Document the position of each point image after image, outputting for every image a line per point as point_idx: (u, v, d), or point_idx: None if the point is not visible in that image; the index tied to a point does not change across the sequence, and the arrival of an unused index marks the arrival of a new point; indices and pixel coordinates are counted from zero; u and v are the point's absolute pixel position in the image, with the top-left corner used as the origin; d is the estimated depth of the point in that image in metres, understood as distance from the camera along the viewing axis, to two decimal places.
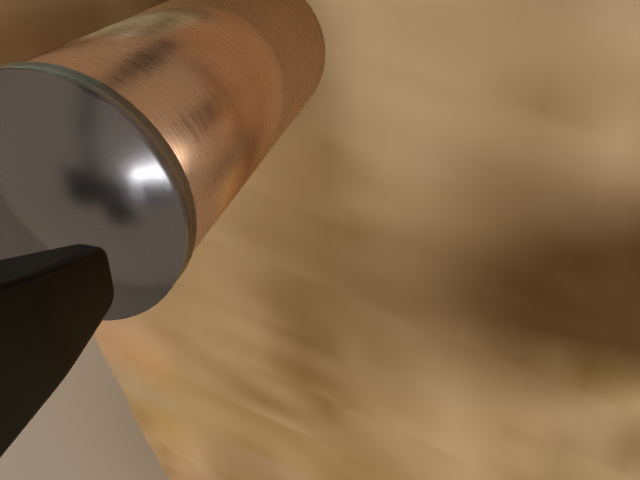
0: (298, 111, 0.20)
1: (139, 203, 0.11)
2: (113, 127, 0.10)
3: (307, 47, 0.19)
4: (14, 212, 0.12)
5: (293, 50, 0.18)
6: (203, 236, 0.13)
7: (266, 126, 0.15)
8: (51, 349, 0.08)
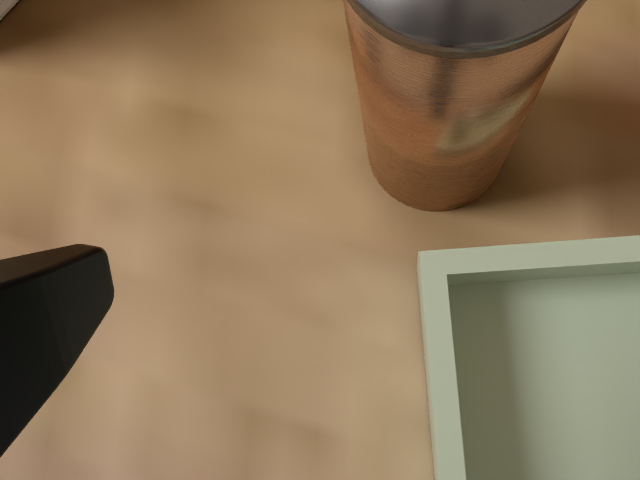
0: None
1: None
2: (376, 1, 0.11)
3: (366, 144, 0.21)
4: None
5: (366, 136, 0.20)
6: None
7: None
8: (51, 349, 0.08)
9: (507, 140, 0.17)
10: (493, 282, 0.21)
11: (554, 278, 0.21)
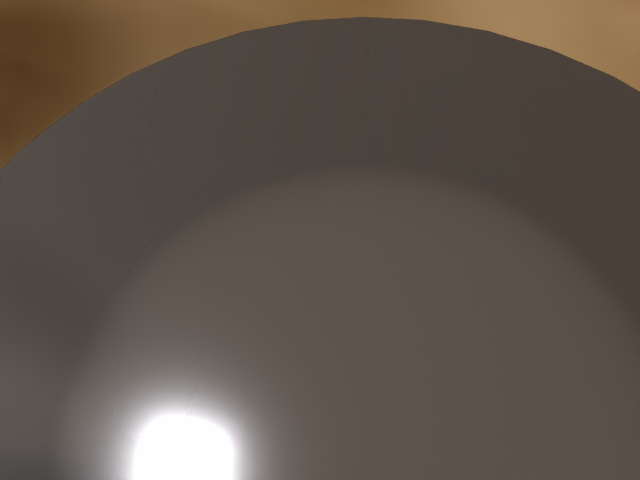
0: None
1: None
2: None
3: None
4: None
5: None
6: None
7: None
8: None
9: None
10: None
11: None
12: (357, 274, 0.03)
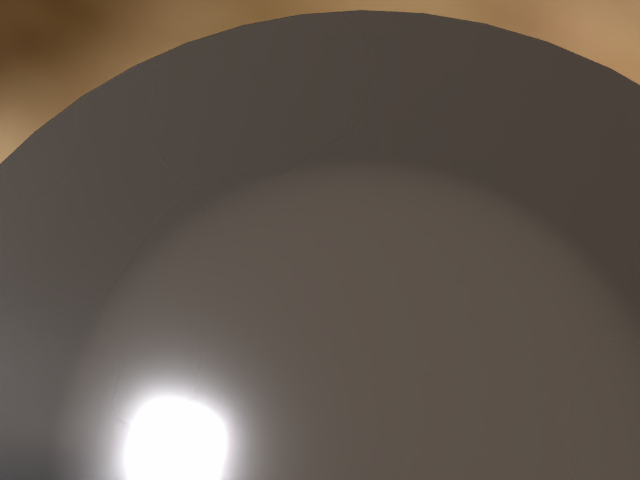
0: None
1: None
2: None
3: None
4: None
5: None
6: None
7: None
8: None
9: None
10: None
11: None
12: (356, 264, 0.03)
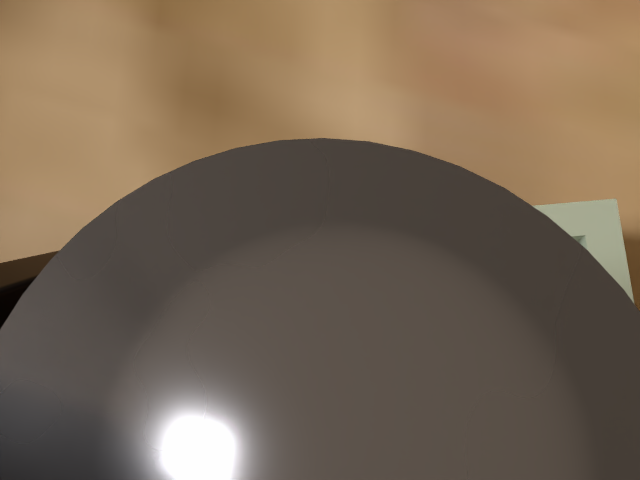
0: None
1: None
2: None
3: None
4: None
5: None
6: None
7: None
8: None
9: None
10: None
11: None
12: (317, 333, 0.04)
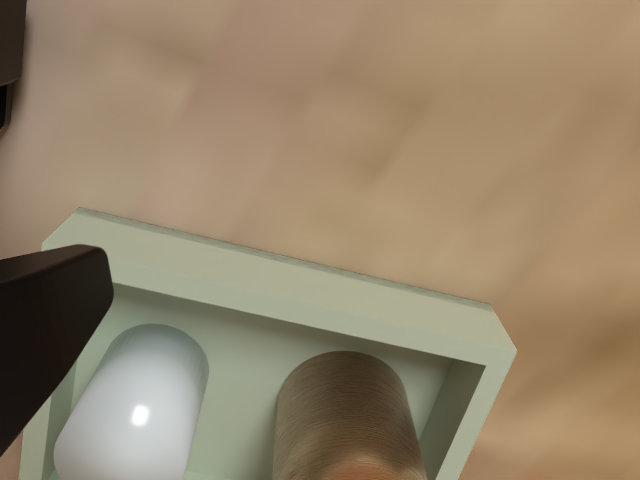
0: (403, 413, 0.21)
1: None
2: None
3: (352, 383, 0.21)
4: None
5: (348, 407, 0.20)
6: None
7: None
8: (51, 349, 0.08)
9: None
10: (450, 365, 0.23)
11: (432, 406, 0.24)
12: None
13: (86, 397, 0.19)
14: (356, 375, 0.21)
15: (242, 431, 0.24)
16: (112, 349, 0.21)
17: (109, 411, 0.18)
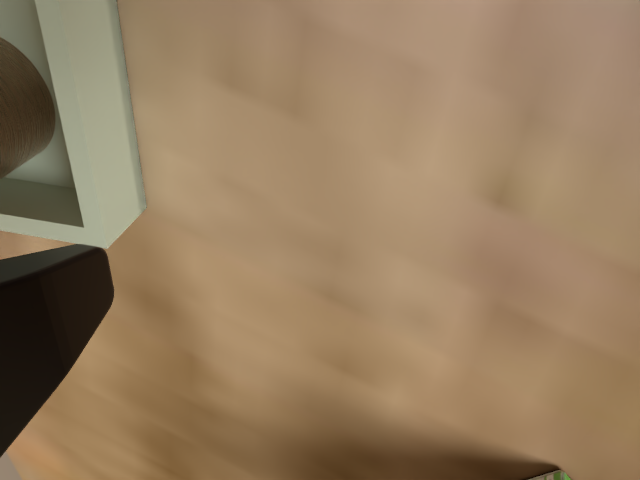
0: (8, 167, 0.21)
1: None
2: None
3: (15, 112, 0.21)
4: None
5: None
6: None
7: None
8: (51, 349, 0.08)
9: None
10: None
11: (34, 181, 0.25)
12: None
13: None
14: (25, 112, 0.21)
15: None
16: None
17: None
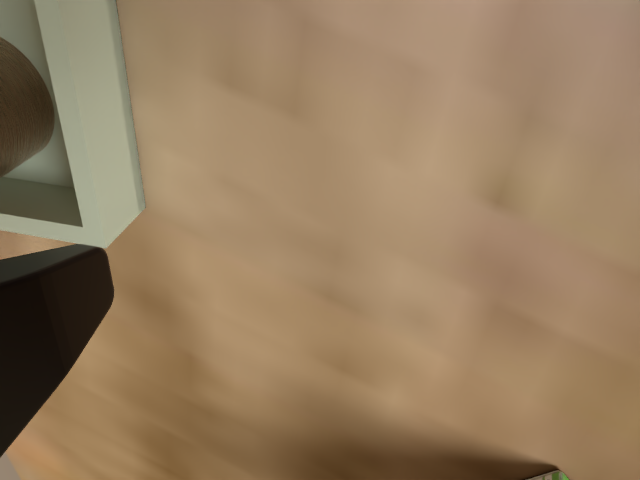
0: (7, 166, 0.21)
1: None
2: None
3: (14, 112, 0.21)
4: None
5: None
6: None
7: None
8: (51, 349, 0.08)
9: None
10: None
11: (33, 181, 0.25)
12: None
13: None
14: (24, 111, 0.21)
15: None
16: None
17: None
